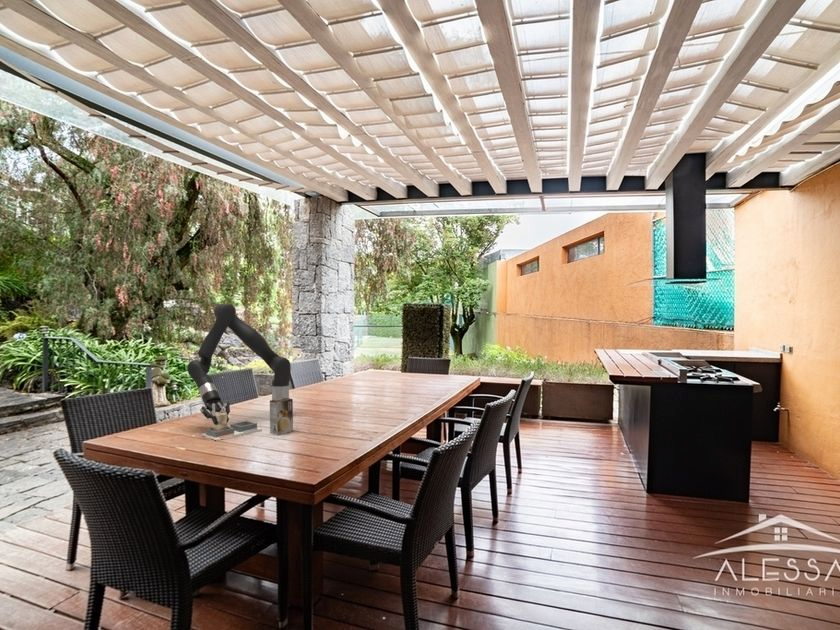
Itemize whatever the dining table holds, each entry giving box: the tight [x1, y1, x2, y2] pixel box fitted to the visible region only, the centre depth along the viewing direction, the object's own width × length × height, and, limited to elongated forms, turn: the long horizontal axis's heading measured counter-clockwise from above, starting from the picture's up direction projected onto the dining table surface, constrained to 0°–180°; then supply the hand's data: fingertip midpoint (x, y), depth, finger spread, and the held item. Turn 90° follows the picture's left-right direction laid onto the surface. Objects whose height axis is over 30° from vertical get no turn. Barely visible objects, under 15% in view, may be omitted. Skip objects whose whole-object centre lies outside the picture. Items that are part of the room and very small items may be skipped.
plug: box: [212, 412, 228, 431], centre depth 213 cm, size 4×4×8 cm
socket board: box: [201, 420, 262, 441], centre depth 218 cm, size 23×14×4 cm, turn 142°
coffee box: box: [269, 397, 294, 436], centre depth 220 cm, size 9×6×16 cm
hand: (222, 422), depth 212 cm, fingers closed on plug, 4 cm apart
